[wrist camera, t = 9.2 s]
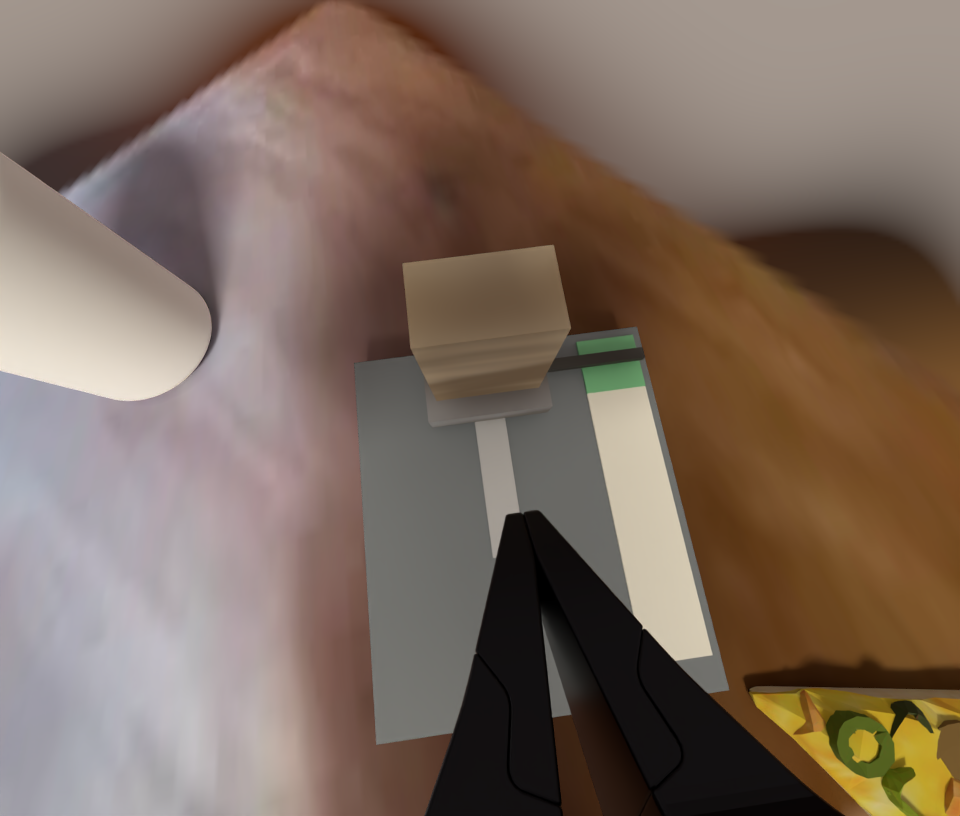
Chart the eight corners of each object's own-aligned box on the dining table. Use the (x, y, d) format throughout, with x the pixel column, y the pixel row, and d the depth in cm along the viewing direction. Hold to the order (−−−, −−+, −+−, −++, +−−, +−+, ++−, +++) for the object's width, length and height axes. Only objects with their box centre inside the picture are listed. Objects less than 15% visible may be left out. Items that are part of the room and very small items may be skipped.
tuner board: (702, 668, 18) (733, 693, 16) (388, 717, 18) (374, 749, 16) (623, 341, 22) (639, 324, 20) (365, 374, 22) (352, 361, 20)
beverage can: (171, 424, 21) (-208, 342, 10) (61, 373, 22) (-414, 239, 10) (244, 310, 23) (-3, 121, 11) (139, 266, 24) (-195, 46, 12)
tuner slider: (651, 399, 19) (772, 333, 11) (432, 428, 19) (397, 381, 11) (630, 313, 20) (725, 198, 12) (423, 339, 20) (384, 238, 12)
